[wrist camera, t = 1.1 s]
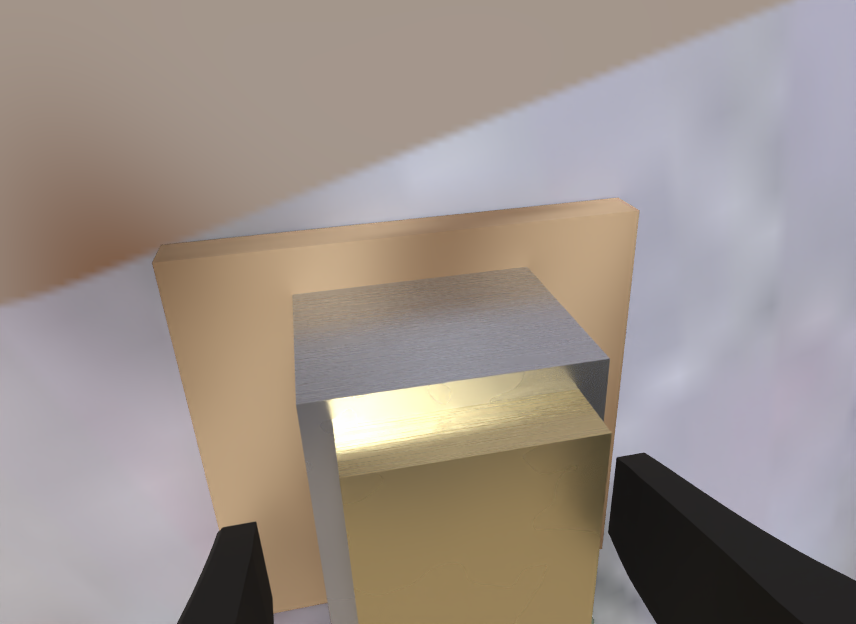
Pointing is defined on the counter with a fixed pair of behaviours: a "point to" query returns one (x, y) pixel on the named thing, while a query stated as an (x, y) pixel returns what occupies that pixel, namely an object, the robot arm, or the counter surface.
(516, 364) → the base
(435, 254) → the stand
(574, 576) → the cover
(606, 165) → the counter surface
